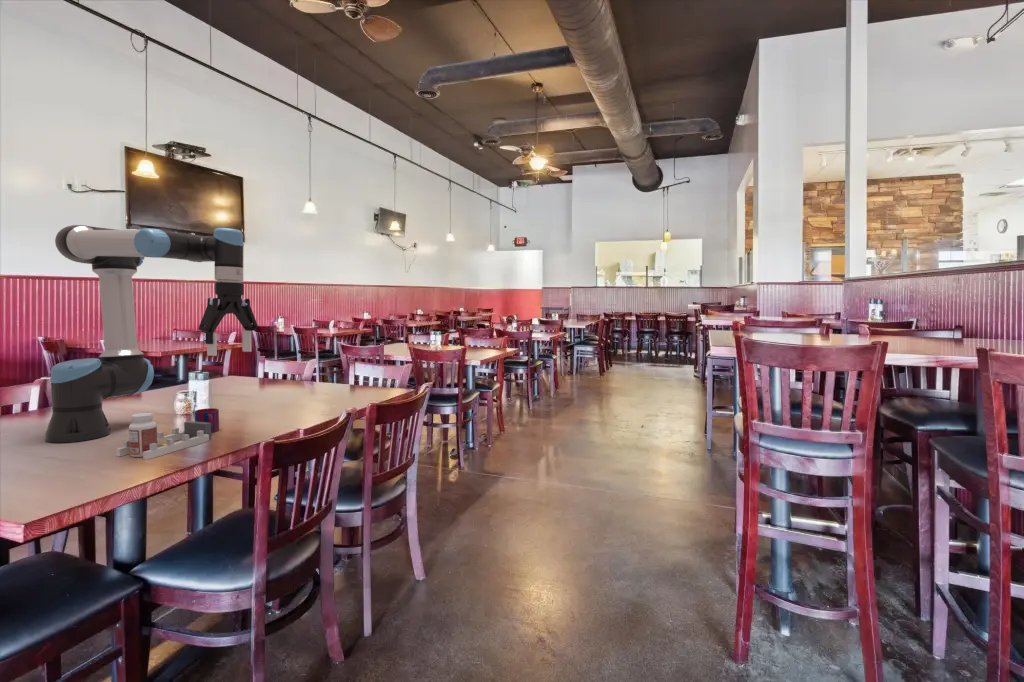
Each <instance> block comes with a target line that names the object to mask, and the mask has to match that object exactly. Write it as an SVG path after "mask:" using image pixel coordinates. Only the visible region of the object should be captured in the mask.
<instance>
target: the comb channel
mask: <svg viewBox="0 0 1024 682" xmlns="http://www.w3.org/2000/svg"><path fill="white" fill-rule="evenodd" d="M183 425H184V428H183V429H184V431H180V428H178V427H174V428H171V433H172V434H171V433H169V434H168V435H165V432H164V431H157V443H152V444H149V445H150V450H148V451H144V452H143V457H142V459H143V460H144V461H145V460H150V459H151V460H152V459H154V458H158V457H161V456H164V455H167V454H170V453H175V452H177V451H180V450H184V449H187V448H190V447H191V448H192V447H194V446H197V445H200V444H204V443H207V442H209V441H210V440H212V433H211V423H207V422H196V421H195V420H188V421H184V422H183ZM115 451H116V453H115V455H116V457H122V456H127V455H130V442H129V439H127V440H123V441H122V447H118V448H116V449H115Z"/></svg>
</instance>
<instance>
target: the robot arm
mask: <svg viewBox="0 0 1024 682" xmlns="http://www.w3.org/2000/svg"><path fill="white" fill-rule="evenodd" d="M54 242H55V247H56V248H57V250H58V252H59V254H61V255H62V256H63V257H64V258H66V259H67V260H70V261H73V262H76V263H79V264H80V263H81V264H88V265H89V264H90V265H91V270H92V272H93V273H94V274H96V275H97V276H98V281H99V293H100V306H101V319H102V332H103V342H104V343H103V345H104V351H103V352H102V353H101V354H99V358H94V357H93V358H92V357H90V358H89V357H86V358H79V359H77V358H76V359H72V360H71V359H70V360H65V361H62V362H61V361H60V362H59V363H57V364H56V363H55V365H53V366H52V367H51V371H50V379H49V382H50V386H51V388H50V389H51V410H52V411H51V412H52V413H51V417H50V420H49V423H48V426H47V427H46V431H45V441H46V442H47V443H62V444H63V443H75V442H83V441H90V440H95V439H100V438H102V437H105V436H108V435H109V434H111V425H110V423H109V421H108V419H107V417H106V414H105V412H104V410H103V399H109V398H116V397H123V396H132V395H134V394H140V393H143V392H145V391H146V390H147V389H149V387H150V386H151V385H152V383H153V382H154V381H153V380H154V377H155V376H154V375H155V370H154V365H153V364H151V361H150V360H149V359H147V358H145V356H144V355H145V354H144V352H142V351H141V350H139V348H138V338H137V337H138V336H137V326H136V325H137V324H136V313H135V300H134V299H135V298H134V287H133V276H134V275H135V274H136V273H137V272H138V269H137V268H138V267H140V266H141V265H142V264H143V263H144V260H145V258H155V259H156V258H158V259H159V258H162V259H174V260H184V261H188V262H194V263H203V262H205V263H206V262H214V280H215V281H216V282H214V293H215V296H217V297H207V304H206V305H207V306H206V308H205V310H204V313H203V316H202V318H201V321H200V323H199V326H198V330H199V332H200V331H201V333H205V335H204V336H205V337H204V338H205V344H206V356H208V357H209V356H210V357H211V356H213V357H216V356H217V357H218V339H217V338H218V334H217V332H216V329H217V328H218V326H219V324H220V323H221V322H222V320H223V319H224V317H225V316H227V314H231V315H232V314H233V315H234V316H235V317H236V319H237V320H238V322H239V323H240V325H241V327H242V328H243V329H244V330H241V335H242V336H241V338H242V339H241V341H242V342H241V344H242V346H241V348H242V352H245V353H248V352H249V353H251V352H253V351H252V341H253V331H256V329H257V328H258V326H259V325H258V323H257V319H256V317H255V315H254V312H253V310H252V307H251V300H250V298H242V296H244V294H245V287H244V286H245V284H244V283H243V281H244V246H245V244H244V234H243V232H242V231H241V230H240V229H236V228H228V227H216V228H214V231H213V235H211V236H210V235H207V236H205V235H197V234H189V233H181V232H176V231H169V230H163V229H159V228H153V227H152V228H147V227H146V228H145V227H144V228H141V229H113V228H105V227H97V226H91V225H84V224H73V225H68V226H65V227H63V228H61V229H60V230H59V231H58V232H57V234H56V235H55V239H54Z"/></svg>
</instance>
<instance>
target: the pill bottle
mask: <svg viewBox="0 0 1024 682" xmlns="http://www.w3.org/2000/svg"><path fill="white" fill-rule="evenodd" d="M131 421H132V423H130V424H129V426H128V434H129V435H128V438H129V439H128V440H129V442H130V454H129V456H130V457H133V458H143V452H144V451H148V450H150V445H149V444H152V443H157V432H158V429H157V428H158V427H157V426H158V425H157V423H156V422H155V421H154V413H153V412H141V413H135V414H132V415H131Z"/></svg>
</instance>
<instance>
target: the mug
mask: <svg viewBox="0 0 1024 682" xmlns="http://www.w3.org/2000/svg"><path fill="white" fill-rule="evenodd" d="M194 421H196V422H207V423H211V434H212V433H215V432H218V431H219V430H220V411H219V408H216V407H215V408H214V407H212V408H211V407H210V408H200V409H196V410H194Z"/></svg>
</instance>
